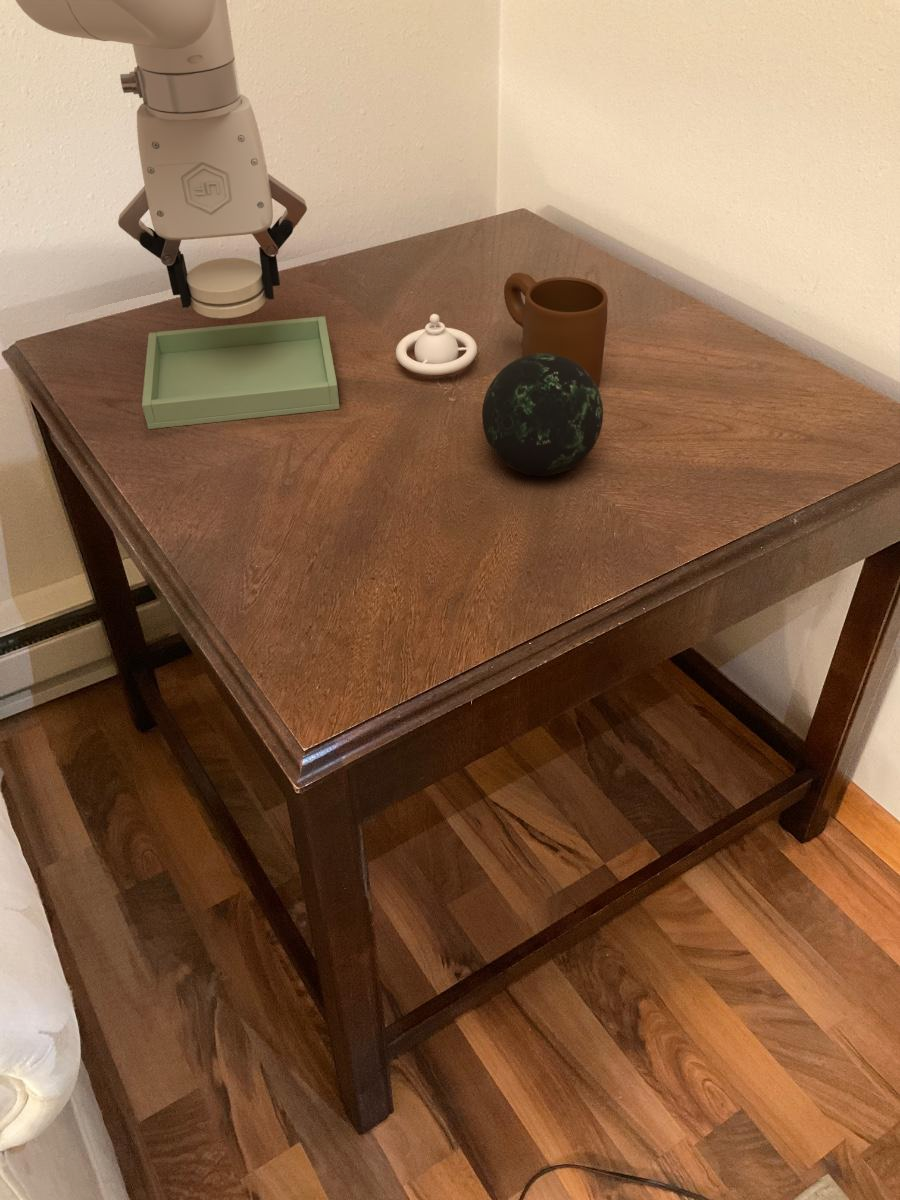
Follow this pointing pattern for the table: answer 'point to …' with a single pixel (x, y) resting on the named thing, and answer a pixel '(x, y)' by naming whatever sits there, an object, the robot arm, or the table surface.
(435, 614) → the table surface
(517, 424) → the decorative stone
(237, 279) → the beige round container
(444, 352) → the ring around a ball
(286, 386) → the tray
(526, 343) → the mug
